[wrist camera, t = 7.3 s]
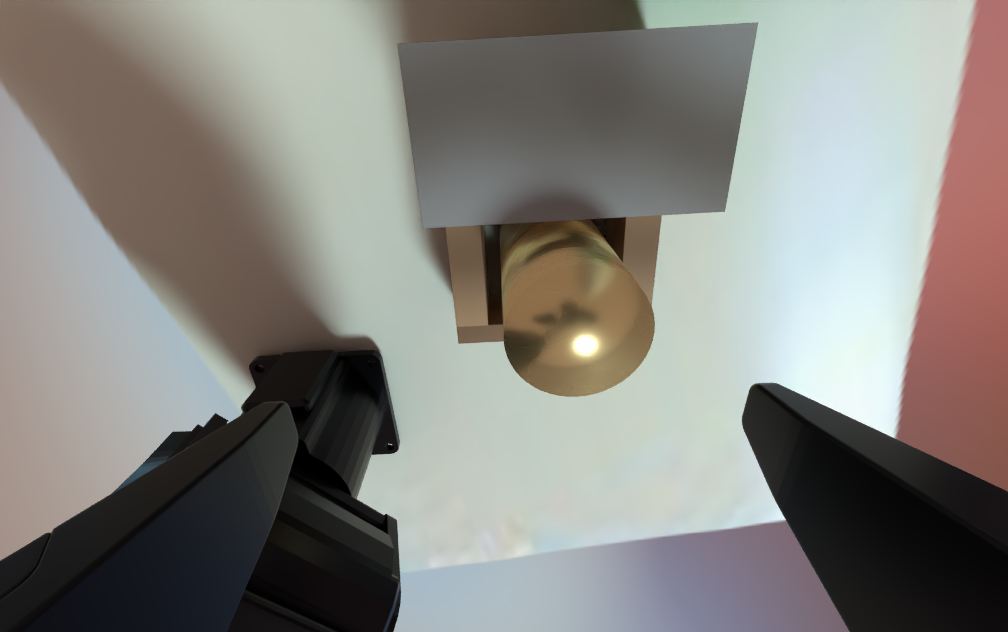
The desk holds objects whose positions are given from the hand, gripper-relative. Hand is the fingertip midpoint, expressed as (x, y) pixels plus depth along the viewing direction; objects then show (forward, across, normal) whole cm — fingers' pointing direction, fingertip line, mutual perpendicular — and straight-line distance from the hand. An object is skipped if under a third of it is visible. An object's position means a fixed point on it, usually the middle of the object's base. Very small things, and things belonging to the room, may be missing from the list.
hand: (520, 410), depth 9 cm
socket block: (+12, -2, -1) cm, 12 cm away
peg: (+12, -2, 0) cm, 12 cm away
